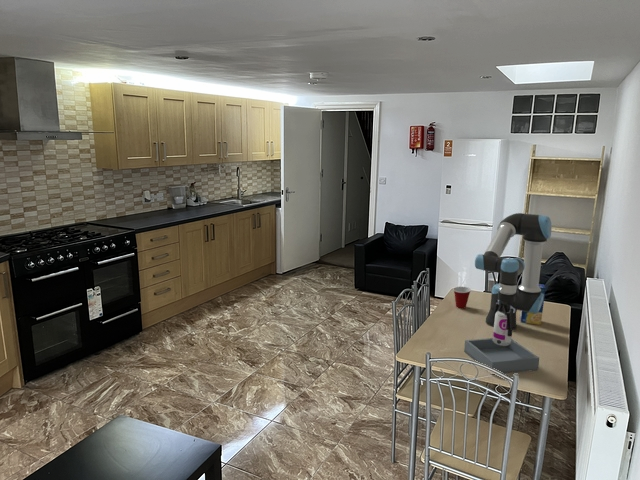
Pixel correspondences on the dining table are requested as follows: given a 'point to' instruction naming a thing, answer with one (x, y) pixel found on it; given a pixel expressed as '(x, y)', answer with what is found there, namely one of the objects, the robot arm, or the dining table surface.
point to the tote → (501, 355)
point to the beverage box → (533, 317)
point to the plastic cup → (461, 296)
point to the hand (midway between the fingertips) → (502, 338)
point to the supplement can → (500, 328)
